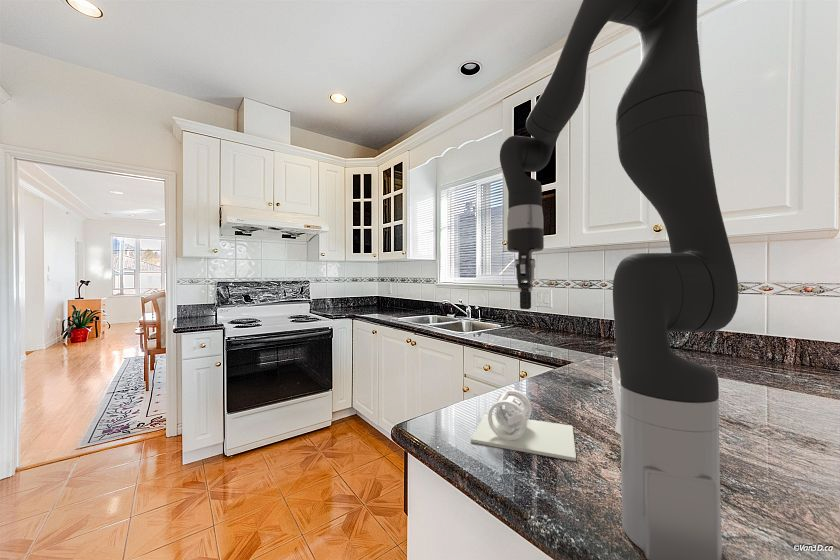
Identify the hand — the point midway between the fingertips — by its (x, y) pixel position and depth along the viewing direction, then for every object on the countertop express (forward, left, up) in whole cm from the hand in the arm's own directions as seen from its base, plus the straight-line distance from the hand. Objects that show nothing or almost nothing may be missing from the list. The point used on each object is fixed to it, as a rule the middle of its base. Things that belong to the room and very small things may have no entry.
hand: (525, 308), depth 72 cm
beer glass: (+3, -20, -25) cm, 32 cm away
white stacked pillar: (+3, +2, -21) cm, 21 cm away
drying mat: (-6, 0, -25) cm, 25 cm away
